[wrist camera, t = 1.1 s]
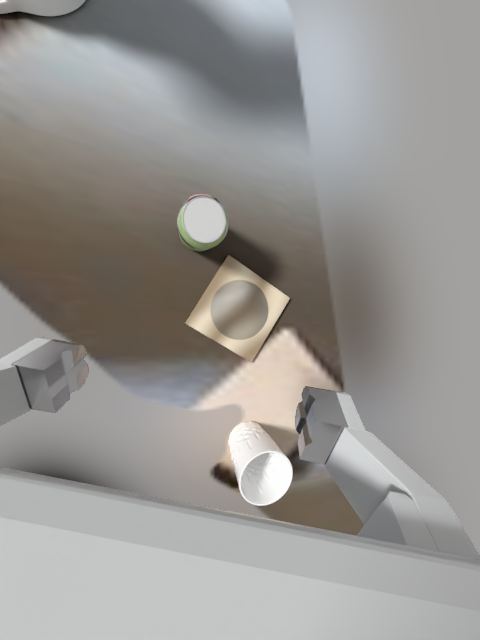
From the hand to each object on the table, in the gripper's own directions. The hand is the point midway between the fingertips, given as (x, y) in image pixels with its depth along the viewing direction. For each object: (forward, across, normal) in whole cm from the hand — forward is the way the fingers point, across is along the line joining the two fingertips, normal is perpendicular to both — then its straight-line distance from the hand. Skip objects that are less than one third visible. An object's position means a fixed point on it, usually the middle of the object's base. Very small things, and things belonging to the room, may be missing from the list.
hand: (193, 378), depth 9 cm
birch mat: (+31, 0, +11) cm, 32 cm away
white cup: (+23, -6, +32) cm, 40 cm away
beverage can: (+33, +8, +1) cm, 34 cm away
